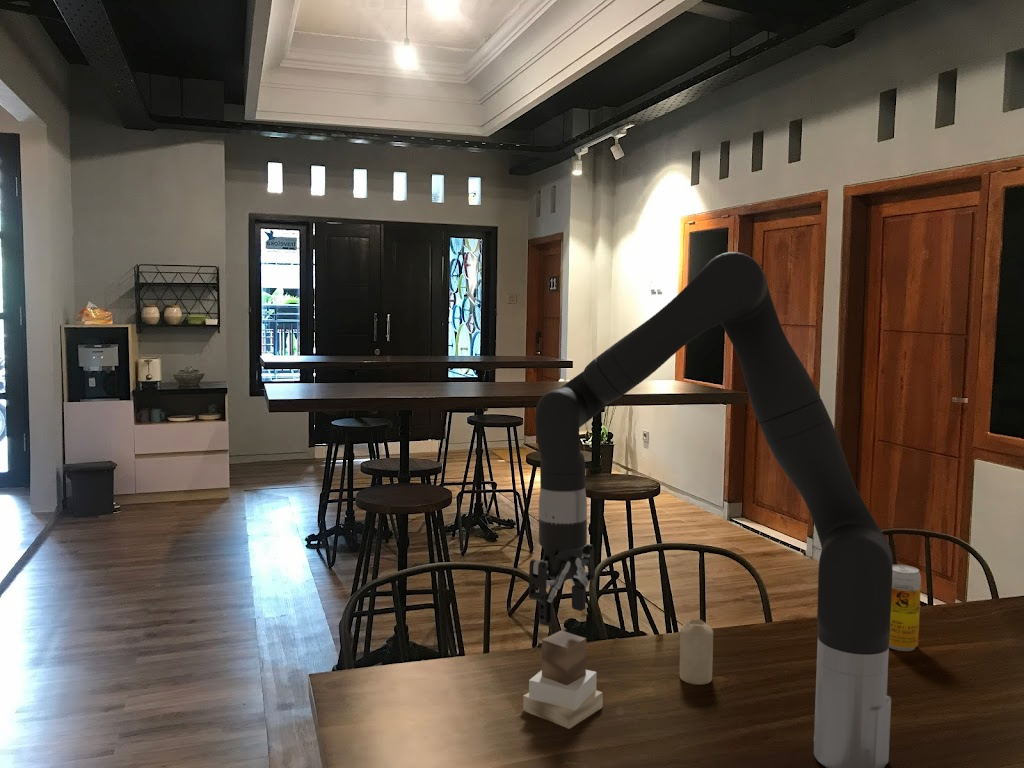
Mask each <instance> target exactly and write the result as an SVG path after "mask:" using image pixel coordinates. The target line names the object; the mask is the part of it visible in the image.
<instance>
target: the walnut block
mask: <svg viewBox="0 0 1024 768" xmlns="http://www.w3.org/2000/svg"><path fill="white" fill-rule="evenodd" d="M541 670H542V677H545V678H548V679H551V680H553V681H556V682H559V683H562V684H564V685H569V684H571V683H572V682H574V681H576V680H578V679H580V678H581V677H583V676H585V675H586V670H587V638H586V637H584V636H580V635H577V634H573V633H571V632H567V631H565V630H562V629H561V630H559V631H557V632H554V633H553V634H551V635H548V636H547V637H545V638H542V639H541Z"/></svg>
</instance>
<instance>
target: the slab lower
mask: <svg viewBox="0 0 1024 768" xmlns="http://www.w3.org/2000/svg"><path fill="white" fill-rule="evenodd" d="M603 694H604V693H603V692H602V691H600V690H597V689H596V691H595V692H594V693H593V694H592V695H591V696H590V697H589V698H588V699H587V700H586V701H585V702H584V703H583V704H582V705H581V706H580V707H578V708H577V709H576V710H571V709H567V708H563V707H560V706H556V705H552V704H548V703H544V702H540V701H536V700H533V699H529V692H527V693H525V694H523V697H522V699H523V700H522V701H523V702H522V703H523V704H522V705H523V707H522V708H523V712H525V713H529V714H531V715H533V716H535V717H539V718H541V719H544V720H546V721H548V722H551V723H554V724H556V725H558V726H561V727H564V728H566V729H567V730H568V729H572V728H573V727H575V726H576V725H577V724H579V723H581V722H582V721H584V720H585V719H587V718H588V717H590V716H592V715H593V714H595V713H596V712H598V711H599V710H601V709H602V708H603V703H604V702H603V700H604V699H603V698H604V697H603Z"/></svg>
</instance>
